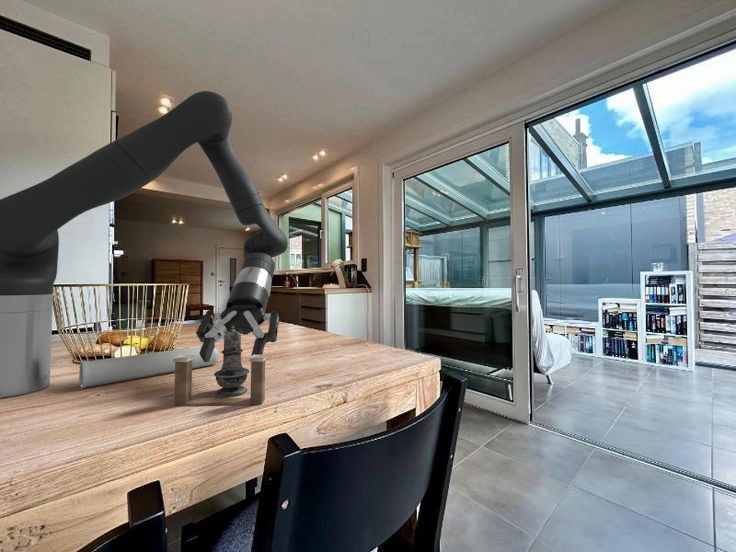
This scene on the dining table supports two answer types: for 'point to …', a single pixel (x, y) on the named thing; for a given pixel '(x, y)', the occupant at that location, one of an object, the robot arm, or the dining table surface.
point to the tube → (137, 366)
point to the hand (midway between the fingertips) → (229, 359)
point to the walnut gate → (185, 390)
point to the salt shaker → (231, 367)
